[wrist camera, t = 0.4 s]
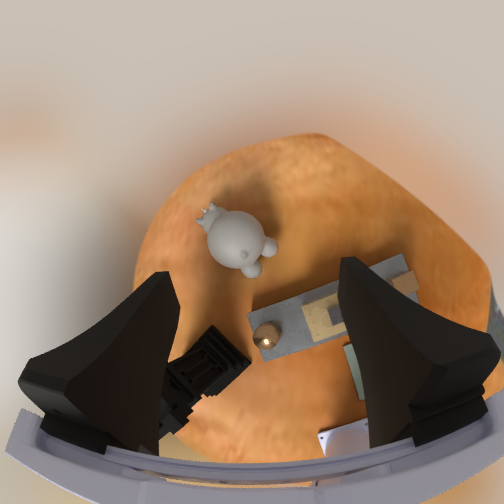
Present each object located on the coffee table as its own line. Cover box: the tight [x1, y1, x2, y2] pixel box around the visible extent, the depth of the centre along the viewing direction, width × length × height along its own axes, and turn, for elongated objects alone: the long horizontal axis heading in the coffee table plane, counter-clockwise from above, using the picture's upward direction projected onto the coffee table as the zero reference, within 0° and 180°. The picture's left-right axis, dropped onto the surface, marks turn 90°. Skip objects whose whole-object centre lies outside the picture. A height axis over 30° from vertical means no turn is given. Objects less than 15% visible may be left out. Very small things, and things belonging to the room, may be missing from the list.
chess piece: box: [159, 325, 251, 440], centre depth 29 cm, size 8×8×20 cm
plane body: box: [247, 253, 419, 362], centre depth 33 cm, size 22×7×6 cm, turn 111°
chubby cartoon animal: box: [195, 201, 278, 278], centre depth 37 cm, size 7×12×8 cm, turn 48°
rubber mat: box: [343, 343, 365, 400], centre depth 33 cm, size 9×11×1 cm
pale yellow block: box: [301, 291, 346, 342], centre depth 31 cm, size 7×4×4 cm, turn 111°
